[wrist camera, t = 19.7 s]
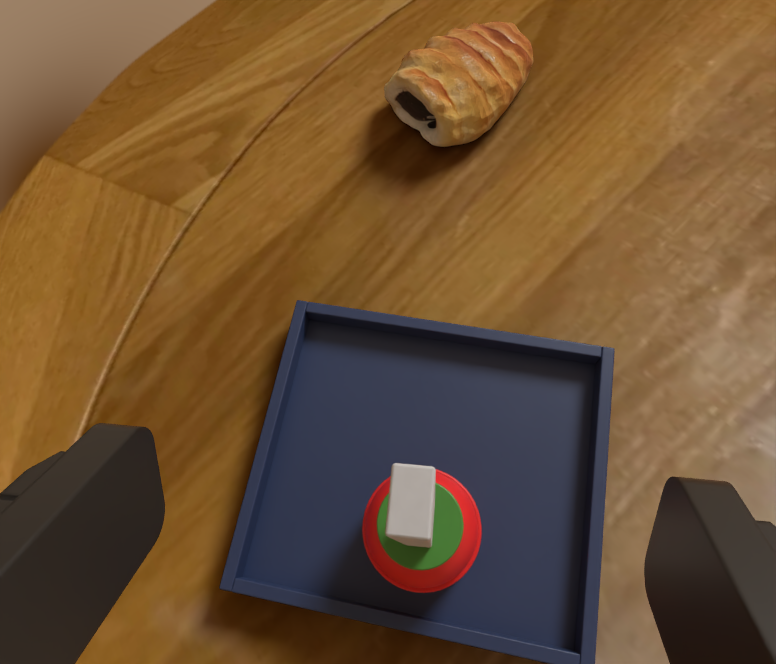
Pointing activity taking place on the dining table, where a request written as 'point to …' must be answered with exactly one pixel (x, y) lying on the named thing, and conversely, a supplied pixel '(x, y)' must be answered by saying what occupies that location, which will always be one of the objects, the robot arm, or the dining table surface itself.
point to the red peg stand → (421, 529)
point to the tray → (445, 453)
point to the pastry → (460, 82)
